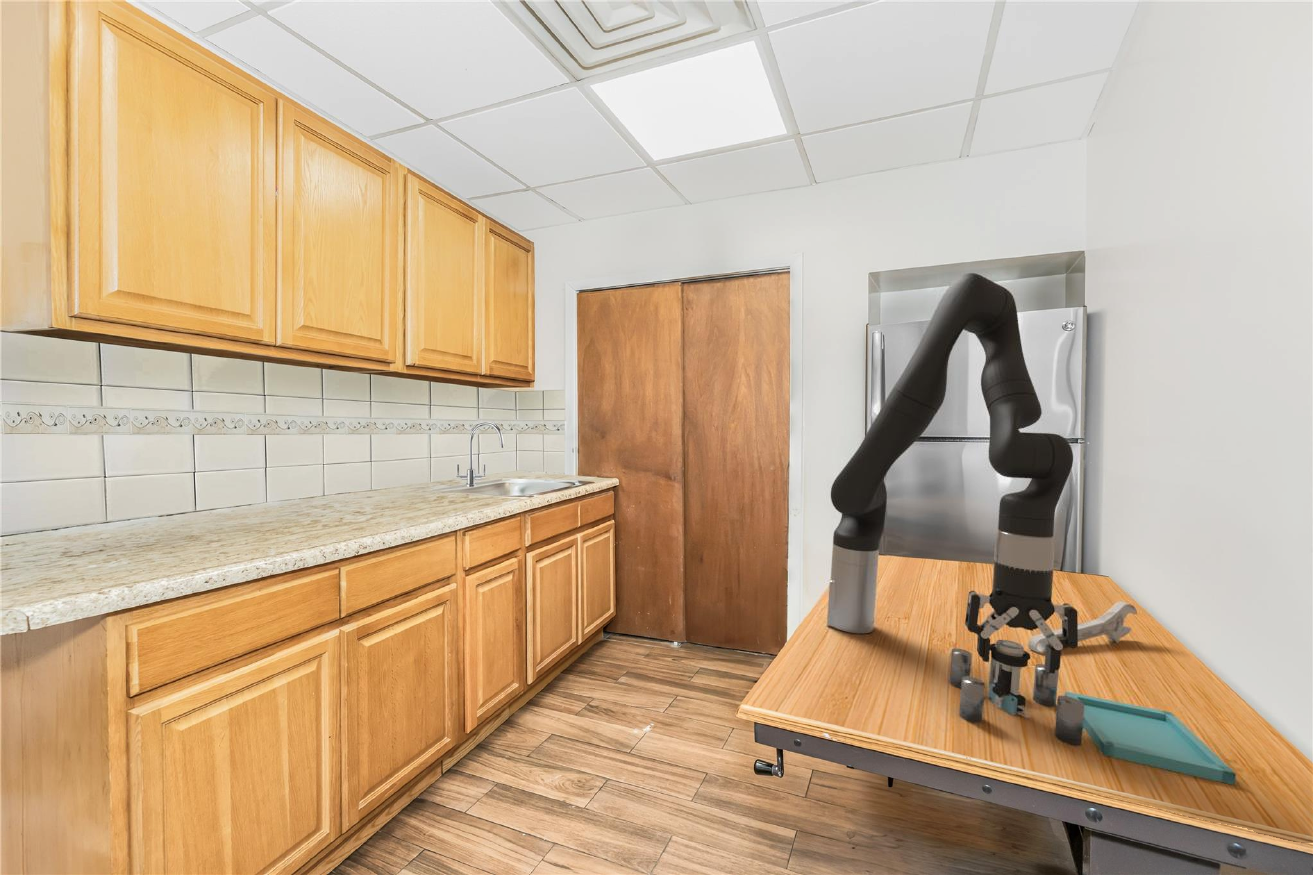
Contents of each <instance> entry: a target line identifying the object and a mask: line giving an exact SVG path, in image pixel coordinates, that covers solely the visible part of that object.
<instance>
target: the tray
mask: <svg viewBox="0 0 1313 875" xmlns="http://www.w3.org/2000/svg"><path fill="white" fill-rule="evenodd" d="M1064 696H1068V697H1072V698H1075V699H1077V700H1079V701H1081V702H1083V703H1084V705H1085V706H1084V718H1083V729H1084V730H1085V732H1086V733H1087V734H1088V736H1089V737H1090V738H1091V740H1092V742H1093V743H1094V744H1095V746H1096V747H1097V748H1098V751H1100V753H1101V754H1102V755H1103V756H1107V757H1111V758H1115V759H1119V760H1124V761H1128V762H1133V763H1137V764H1142V765H1146V766H1151V767H1154V768H1159V769H1163V770H1168V771H1172V772H1174V773H1175V772H1176V773H1181V774H1184V775H1189V776H1193V777H1197V778H1201V779H1206V780H1210V781H1214V782H1219V783H1222V784H1228V785H1233V786H1235V785H1236V776H1237V775H1236V772H1235V771H1234V770H1233V769H1231V768H1230V767H1229V765H1227V764H1226V762H1224V760H1222V759H1221V758H1220V757H1219V756H1218V755H1217V754H1216V753H1215V752H1214V751H1212V749H1211V748H1210V747H1208V746H1207V745H1206V744H1205V743H1204V742H1203V741H1202V740H1201V739H1200V738H1199V737H1198V736H1197V735H1196V734H1194V732H1192V730H1190V728H1188V727H1187V725H1185V724H1184V723H1183V722H1182V721H1181V720H1180V719H1179V718H1178V717H1177V716H1175V715H1174V713H1173V712H1169V711H1165V710H1160V709H1155V708H1151V707H1145V706H1141V705H1134V704H1132V703H1125V702H1120V701H1114V700H1110V699H1105V698H1099V697H1094V696H1091V695H1090V696H1089V695H1086V694H1085V695H1084V694H1081V693H1080V694H1079V693H1075V692H1070V691H1069V692H1068V691H1064Z"/></svg>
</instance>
